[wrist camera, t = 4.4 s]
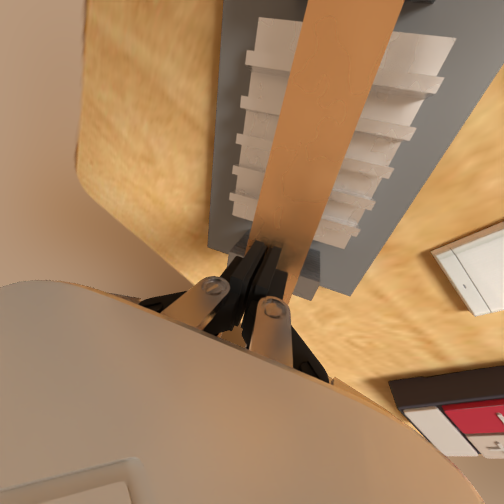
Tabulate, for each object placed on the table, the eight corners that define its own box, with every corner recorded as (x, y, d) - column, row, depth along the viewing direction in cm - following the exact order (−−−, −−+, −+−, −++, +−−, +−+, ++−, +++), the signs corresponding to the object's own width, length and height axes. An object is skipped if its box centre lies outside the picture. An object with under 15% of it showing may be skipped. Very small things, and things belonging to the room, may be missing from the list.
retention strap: (348, -132, 7) (359, -216, 6) (452, -136, 7) (495, -231, 5) (238, 292, 14) (231, 303, 13) (284, 309, 14) (281, 323, 12)
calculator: (633, 465, 17) (443, 462, 25) (577, 412, 21) (426, 423, 29) (587, 396, 16) (398, 414, 23) (534, 350, 20) (386, 379, 27)
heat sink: (285, -65, 10) (260, -218, 6) (491, -60, 9) (660, -266, 4) (236, 241, 21) (214, 265, 17) (324, 270, 19) (325, 306, 15)
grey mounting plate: (244, -91, 12) (232, -132, 10) (580, -91, 9) (642, -148, 7) (215, 240, 24) (207, 247, 23) (347, 284, 21) (350, 296, 20)
